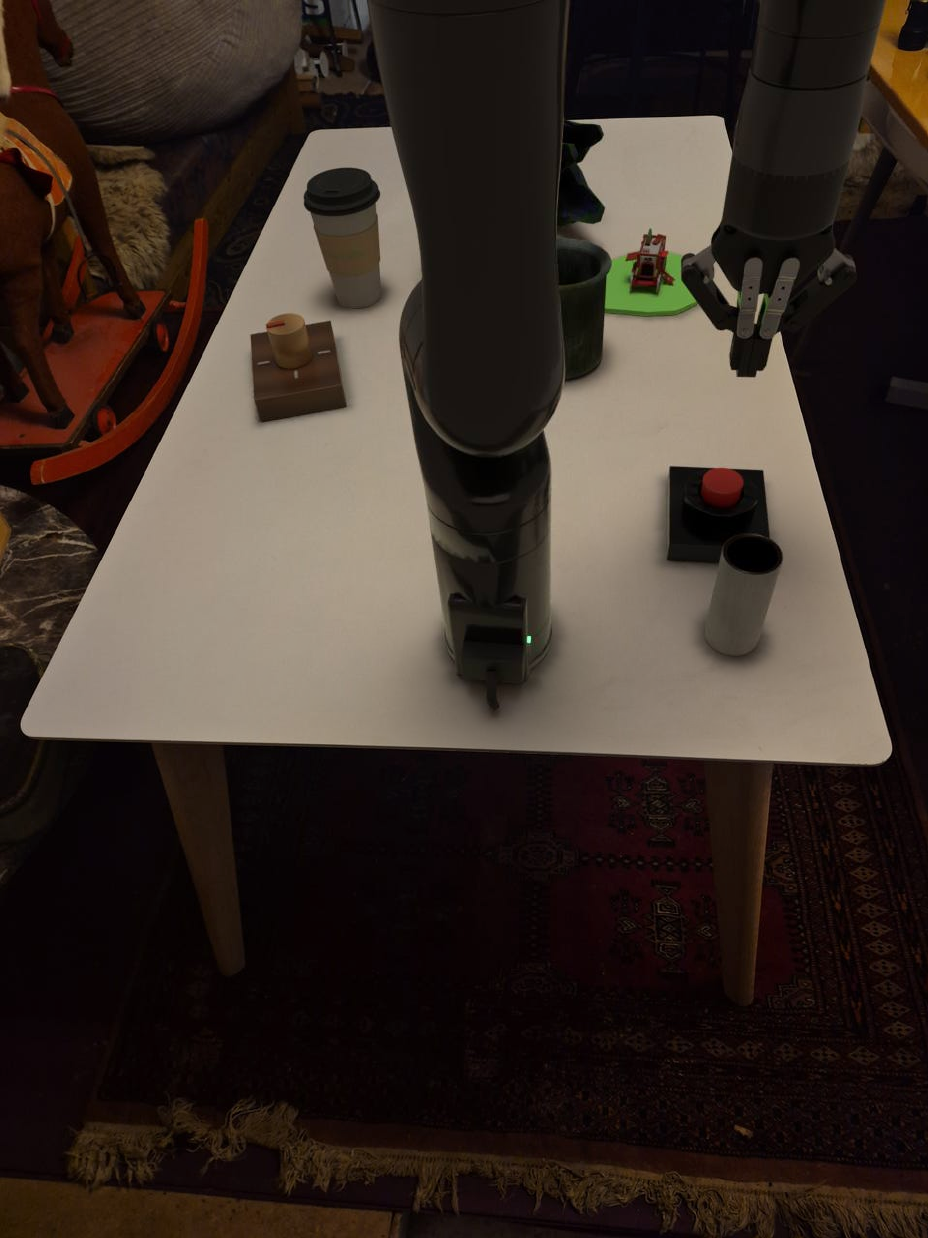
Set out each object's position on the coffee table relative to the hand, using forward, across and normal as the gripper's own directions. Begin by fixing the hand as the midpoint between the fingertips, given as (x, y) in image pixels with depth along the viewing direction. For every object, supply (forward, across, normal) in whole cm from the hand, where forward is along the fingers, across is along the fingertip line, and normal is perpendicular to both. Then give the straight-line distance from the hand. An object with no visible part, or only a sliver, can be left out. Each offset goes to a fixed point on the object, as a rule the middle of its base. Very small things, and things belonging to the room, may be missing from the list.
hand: (745, 371), depth 70 cm
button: (+13, 0, 0) cm, 13 cm away
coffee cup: (+17, -45, +40) cm, 63 cm away
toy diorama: (+17, -8, +44) cm, 48 cm away
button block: (+17, 0, 0) cm, 17 cm away
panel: (+17, -48, +21) cm, 55 cm away
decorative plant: (+17, -25, +57) cm, 65 cm away
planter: (+17, +1, -14) cm, 22 cm away
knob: (+14, -48, +21) cm, 54 cm away
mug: (+17, -19, +27) cm, 37 cm away
